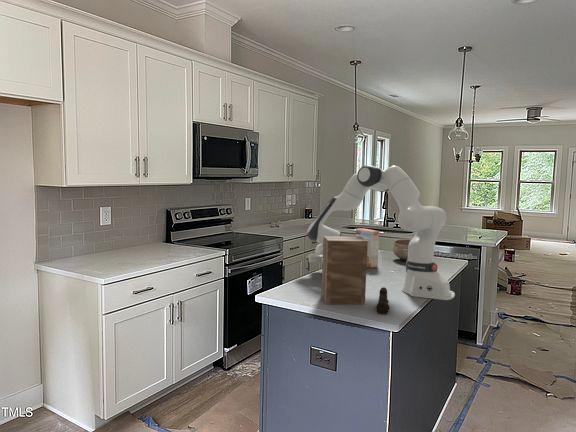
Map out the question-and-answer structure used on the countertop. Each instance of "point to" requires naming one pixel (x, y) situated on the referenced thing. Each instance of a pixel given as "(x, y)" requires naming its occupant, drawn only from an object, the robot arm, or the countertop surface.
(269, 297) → the countertop surface
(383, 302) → the hand tool
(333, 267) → the wooden shelf
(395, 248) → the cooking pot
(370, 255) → the cracker box
